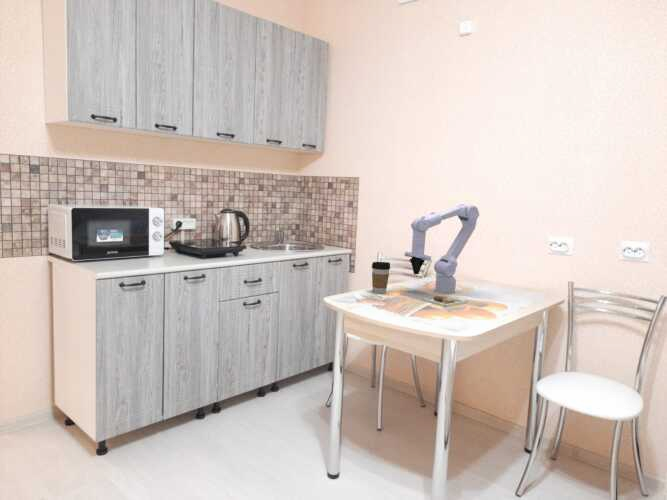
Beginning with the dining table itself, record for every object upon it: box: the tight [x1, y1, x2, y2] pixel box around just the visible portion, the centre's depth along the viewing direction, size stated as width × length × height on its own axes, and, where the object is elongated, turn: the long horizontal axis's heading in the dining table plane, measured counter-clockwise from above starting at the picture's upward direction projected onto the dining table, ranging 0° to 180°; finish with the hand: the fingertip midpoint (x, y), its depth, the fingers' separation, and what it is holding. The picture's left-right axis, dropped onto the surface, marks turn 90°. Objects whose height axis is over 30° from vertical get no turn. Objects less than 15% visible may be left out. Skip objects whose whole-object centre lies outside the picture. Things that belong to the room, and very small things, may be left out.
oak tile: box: [442, 298, 457, 304], centre depth 215 cm, size 4×4×2 cm
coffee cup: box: [371, 261, 391, 295], centre depth 229 cm, size 8×8×15 cm
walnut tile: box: [433, 295, 446, 303], centre depth 219 cm, size 4×4×2 cm
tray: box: [422, 294, 467, 308], centre depth 217 cm, size 14×12×2 cm
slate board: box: [397, 290, 437, 302], centre depth 227 cm, size 14×15×1 cm
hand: (416, 274), depth 232 cm, fingers closed
